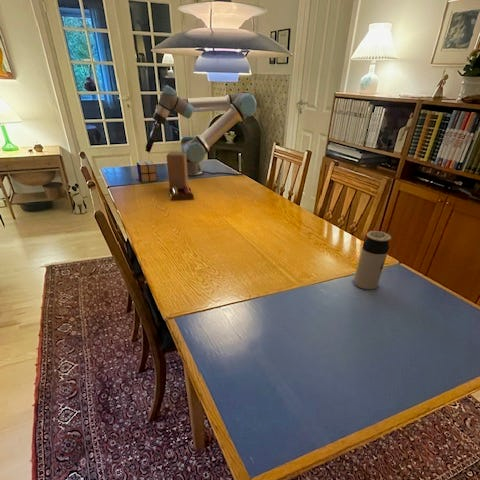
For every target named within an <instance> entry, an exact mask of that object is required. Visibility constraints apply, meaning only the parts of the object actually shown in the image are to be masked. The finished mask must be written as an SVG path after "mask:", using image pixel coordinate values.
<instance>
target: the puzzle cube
mask: <svg viewBox="0 0 480 480" xmlns="http://www.w3.org/2000/svg"><path fill="white" fill-rule="evenodd" d="M136 168H137V175H138V177H137V178H138V179H139V180H140V181H141V182H142V183H148V182H158V173H157V165H156V164H155V163H154V162H153V161H152V160H148V161H137V162H136Z"/></svg>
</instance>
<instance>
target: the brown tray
mask: <svg viewBox="0 0 480 480" xmlns="http://www.w3.org/2000/svg"><path fill="white" fill-rule="evenodd" d="M169 195H170V198H171V201H187V200H188V201H189V200H194V194H193V193H192V189H191V187H189V185H188V186H184V188H176V187H175V186H173V187H172V189H170V188H169Z"/></svg>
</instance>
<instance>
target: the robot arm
mask: <svg viewBox="0 0 480 480" xmlns="http://www.w3.org/2000/svg"><path fill="white" fill-rule="evenodd" d="M177 94H178V91H177V90H175V89H174V88H173V87H171V86H169V85H167V84H166V85H164V88H163V89H162V92H161V94H160V96H159V97H160V98H159V99H158V103H157V104H156V105H155V112H154V113H153V116H152V119H153V120H154V121H155V122H154V123H153V124H152V128H151V131H150V133H149V137H148V139H147V141H146V145H145V152H147V153H149V154H150V153H151V151H152V148H153V146H154V143H155V141H156V139H157V136H158V133H159V131H160V130H161V125H163V126H165V124H166V122H167V118H169V114H170V113H171V110H173V111H174V112H176V113H177V114H179V115H180V116H182V117H183V118H185V119H190V118H191V117H192V115H193V113H200V112H201V113H202V112H203V113H204V112H206V113H207V112H221V111H225V112H224V113H223V114H222V115H221V116H220V117H219V118H218V119H217V120H216V121H214V123H212V124H211V126H209V127H208V128H207V129H206V130H205V131H204V132H203V133H201V134H200V135H199V134H197V135H195V136H181V137H180V148H181V152H185V153H186V156H187V172H188V177H197V176H201V175H203V173H204V174H209V175H221V174H222V175H223V174H224V175H232V176H243V175H246V176H250V175H249V174H248V173H247V172H242V173H233V172H224V171H223V172H222V171H218V172H212V171H211V172H210V171H205V170H203V168H202V165H201V162H203V160H205V159H204V158H205V157H206V155H207V154H208V153H209V152H210V148H211V147H212V146H213V145H214V144H215V143H216V142H217V141H218V140H219V139H220V138H222V137H223V136H224V135H225V134H226V133H227V132H228V131H229V130H230V129H231V128H232V127H234V126H235V125H236V124H237V123H238V122H243V121H245V119H247V117H252V116H253V115H254V113H255V112H256V110H257V100H256V97H254V96H253V94H251V93H248V92H246V93H245V92H243V91H242V92H241V91H240V92H236V93H231V94H228V93H227V94H226V95H225V96H208V97H207V96H205V97H189V98H188V97H187V98H181V97H180V96H178V95H177Z"/></svg>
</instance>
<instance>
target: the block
mask: <svg viewBox="0 0 480 480" xmlns="http://www.w3.org/2000/svg"><path fill="white" fill-rule="evenodd" d="M166 165H167V177H168V187H169V190H170V189H172V187H173V186H175V187H176V188H184V186H188V187H189V176H188V172H187V156H186V153H185V152H182V151H169V152H168V153H167V154H166Z"/></svg>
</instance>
